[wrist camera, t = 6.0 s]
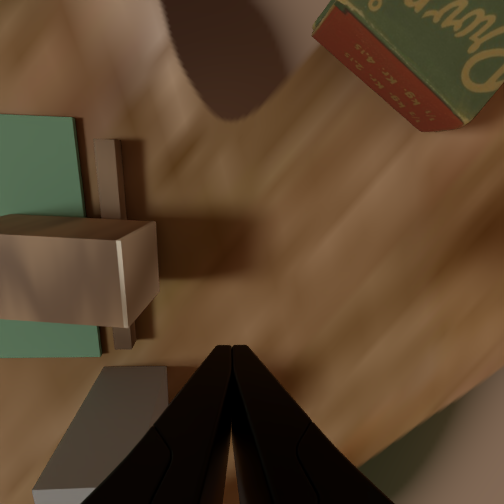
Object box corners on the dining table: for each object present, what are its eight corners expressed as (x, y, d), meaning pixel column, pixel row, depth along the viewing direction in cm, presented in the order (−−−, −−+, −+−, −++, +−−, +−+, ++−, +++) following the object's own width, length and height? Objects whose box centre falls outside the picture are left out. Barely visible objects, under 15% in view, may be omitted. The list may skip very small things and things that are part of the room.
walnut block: (128, 328, 14) (-43, 316, 15) (159, 291, 18) (23, 282, 18) (120, 240, 13) (-65, 230, 13) (155, 221, 17) (10, 214, 17)
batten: (136, 340, 20) (131, 349, 19) (120, 340, 20) (114, 349, 19) (120, 140, 17) (114, 139, 16) (100, 139, 17) (93, 138, 16)
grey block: (169, 414, 22) (138, 550, 15) (109, 416, 22) (46, 556, 14) (166, 366, 21) (131, 486, 14) (103, 366, 21) (31, 490, 13)
